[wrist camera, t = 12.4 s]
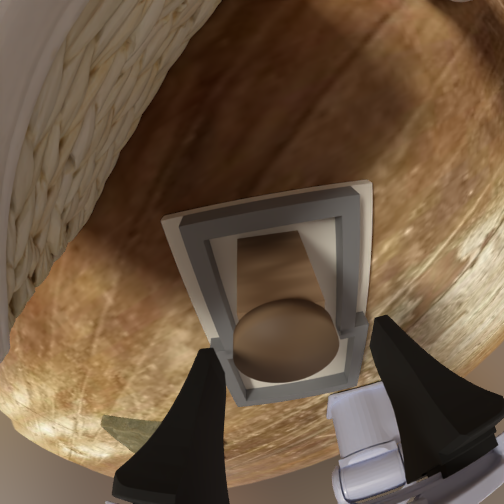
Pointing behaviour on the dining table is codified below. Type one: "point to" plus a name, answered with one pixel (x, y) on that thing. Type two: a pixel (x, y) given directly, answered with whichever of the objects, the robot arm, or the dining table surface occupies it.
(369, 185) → the grey flat framed piece
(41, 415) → the dining table surface
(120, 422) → the olive stone flat slab
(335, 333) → the walnut peg
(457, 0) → the vodka
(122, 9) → the storage basket
